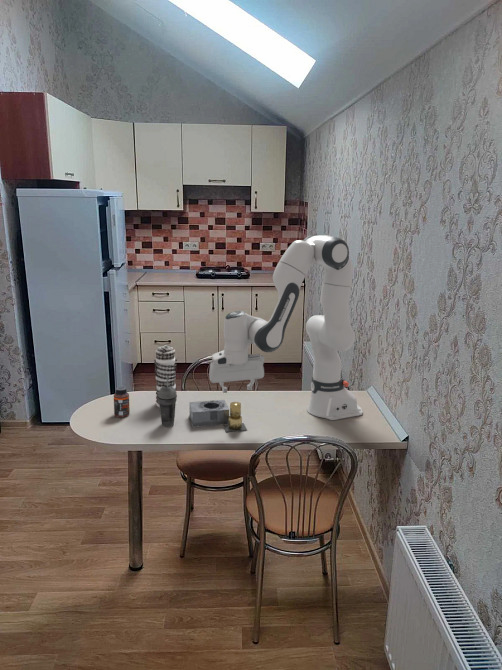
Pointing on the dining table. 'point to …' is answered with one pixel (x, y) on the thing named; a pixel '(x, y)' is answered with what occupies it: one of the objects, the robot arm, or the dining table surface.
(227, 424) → the mat
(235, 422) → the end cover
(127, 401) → the supplement bottle
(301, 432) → the dining table surface
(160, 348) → the checkered thermos bottle
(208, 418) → the housing
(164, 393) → the beverage cup
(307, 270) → the robot arm
